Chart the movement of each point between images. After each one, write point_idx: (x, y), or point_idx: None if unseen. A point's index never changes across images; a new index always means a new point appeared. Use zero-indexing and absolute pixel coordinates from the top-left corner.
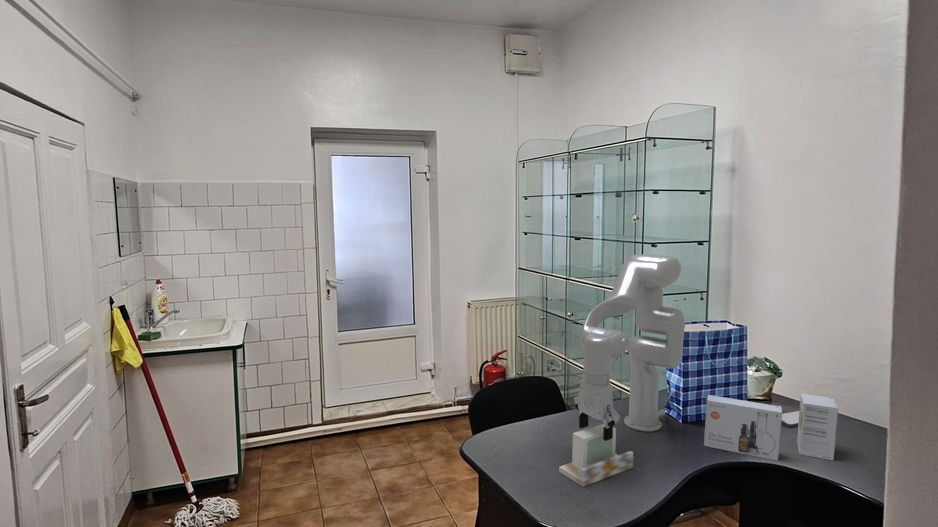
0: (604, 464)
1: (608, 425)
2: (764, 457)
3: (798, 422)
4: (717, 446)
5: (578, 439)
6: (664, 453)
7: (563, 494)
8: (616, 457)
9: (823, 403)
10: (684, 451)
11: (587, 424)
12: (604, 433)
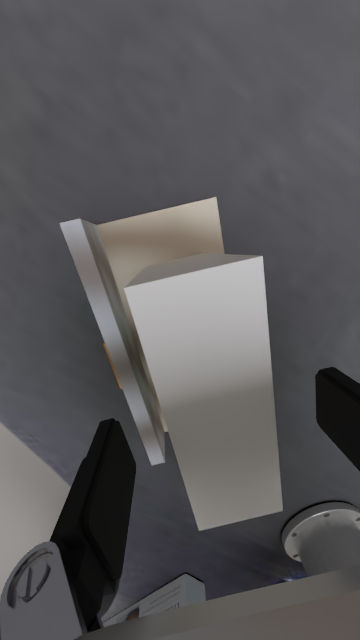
0: (107, 343)
1: (6, 608)
2: (109, 620)
3: None
4: (166, 591)
5: (187, 270)
6: (188, 508)
7: (50, 115)
8: (135, 405)
9: None
10: (180, 539)
11: (325, 428)
12: (87, 466)
